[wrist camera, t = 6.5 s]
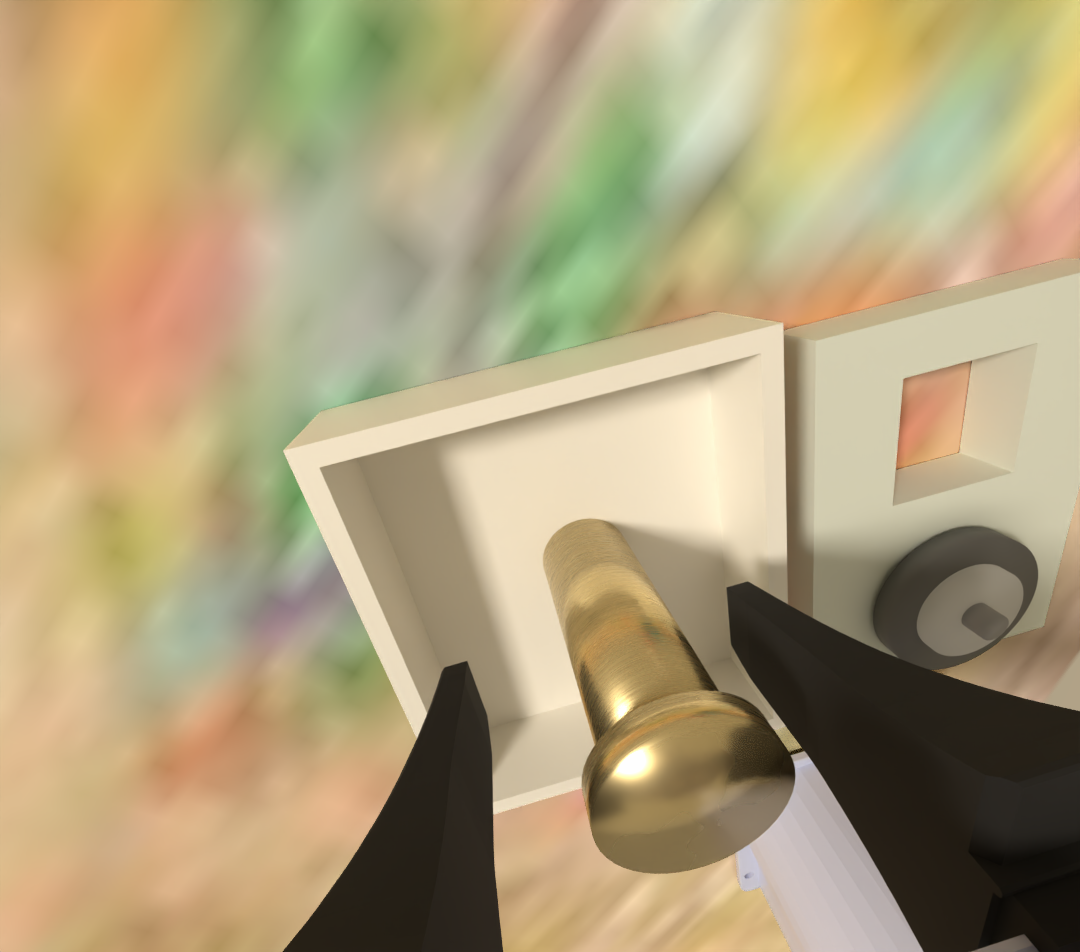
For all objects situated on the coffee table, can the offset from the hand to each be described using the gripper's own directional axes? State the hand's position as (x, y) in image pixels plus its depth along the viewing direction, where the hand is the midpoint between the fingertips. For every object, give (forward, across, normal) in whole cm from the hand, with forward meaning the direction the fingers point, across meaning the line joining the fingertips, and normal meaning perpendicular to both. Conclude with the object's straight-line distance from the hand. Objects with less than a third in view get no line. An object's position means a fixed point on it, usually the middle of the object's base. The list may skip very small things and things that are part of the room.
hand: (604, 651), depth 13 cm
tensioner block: (+5, -13, +1) cm, 14 cm away
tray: (+5, 0, 0) cm, 5 cm away
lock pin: (+4, 0, 0) cm, 4 cm away
